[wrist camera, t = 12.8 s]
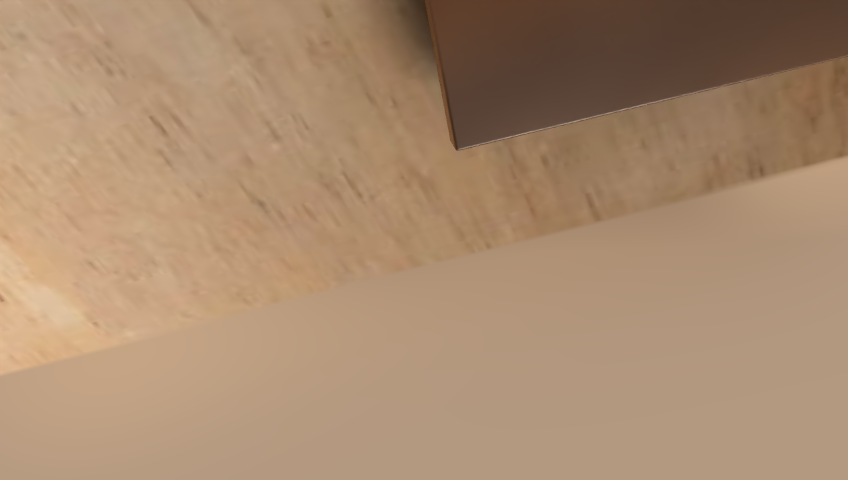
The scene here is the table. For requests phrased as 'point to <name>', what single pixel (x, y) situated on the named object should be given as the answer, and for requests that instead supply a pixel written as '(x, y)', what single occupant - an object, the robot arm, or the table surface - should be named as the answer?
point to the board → (611, 55)
